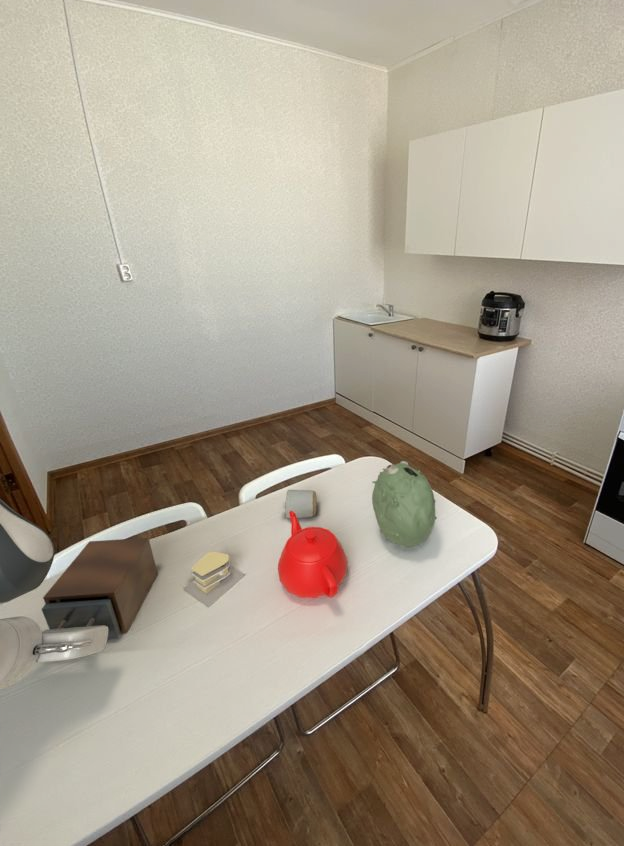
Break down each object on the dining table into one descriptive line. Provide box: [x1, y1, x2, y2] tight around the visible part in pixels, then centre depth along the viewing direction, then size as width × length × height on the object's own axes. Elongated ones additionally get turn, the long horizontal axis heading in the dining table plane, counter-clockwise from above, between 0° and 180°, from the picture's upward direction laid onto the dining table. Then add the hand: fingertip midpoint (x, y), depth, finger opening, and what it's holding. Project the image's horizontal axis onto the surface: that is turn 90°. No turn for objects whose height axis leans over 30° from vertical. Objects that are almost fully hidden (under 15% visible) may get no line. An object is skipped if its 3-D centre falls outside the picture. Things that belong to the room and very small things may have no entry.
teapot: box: [277, 511, 348, 599], centre depth 86 cm, size 25×16×12 cm, turn 30°
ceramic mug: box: [285, 489, 317, 519], centre depth 108 cm, size 11×8×8 cm
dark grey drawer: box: [41, 596, 122, 640], centre depth 75 cm, size 18×11×9 cm, turn 4°
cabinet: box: [42, 537, 159, 635], centre depth 79 cm, size 15×13×11 cm
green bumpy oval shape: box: [371, 460, 437, 548], centre depth 95 cm, size 16×19×20 cm
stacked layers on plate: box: [182, 551, 246, 608], centre depth 85 cm, size 10×9×6 cm
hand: (64, 637), depth 67 cm, fingers closed on dark grey drawer, 6 cm apart
